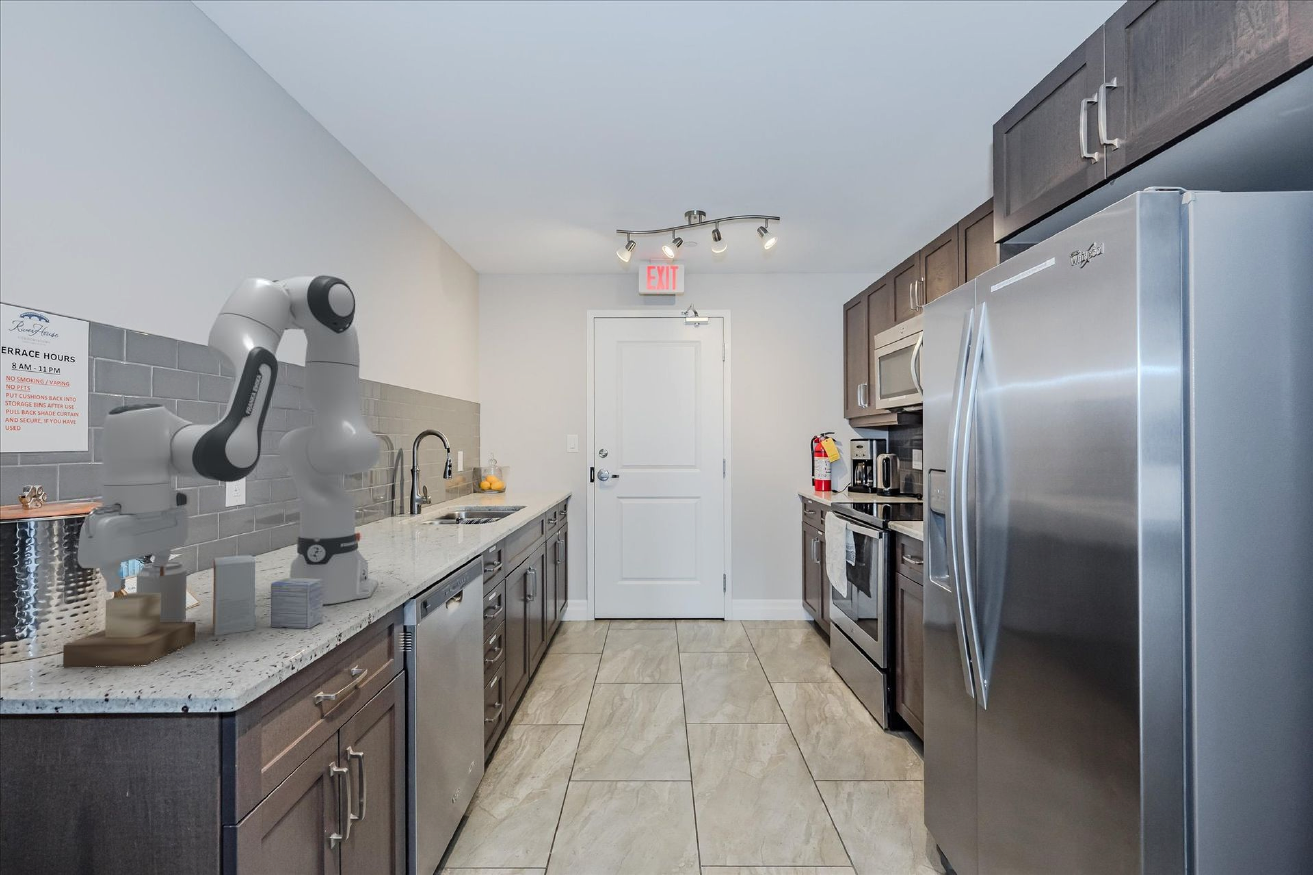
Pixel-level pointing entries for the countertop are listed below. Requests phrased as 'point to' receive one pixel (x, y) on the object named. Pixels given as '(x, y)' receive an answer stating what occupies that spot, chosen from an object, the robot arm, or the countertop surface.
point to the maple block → (132, 615)
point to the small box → (234, 594)
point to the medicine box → (296, 602)
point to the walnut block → (128, 647)
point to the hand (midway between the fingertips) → (137, 583)
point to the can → (167, 590)
